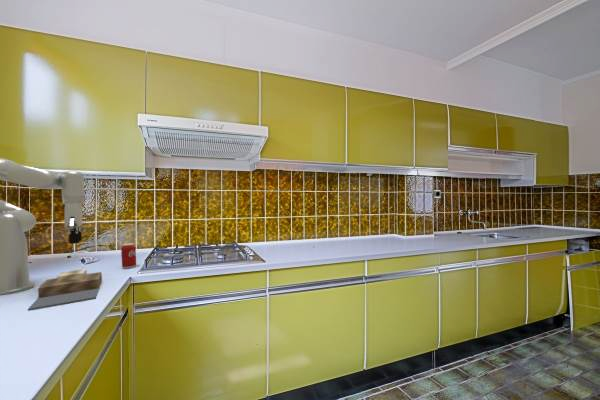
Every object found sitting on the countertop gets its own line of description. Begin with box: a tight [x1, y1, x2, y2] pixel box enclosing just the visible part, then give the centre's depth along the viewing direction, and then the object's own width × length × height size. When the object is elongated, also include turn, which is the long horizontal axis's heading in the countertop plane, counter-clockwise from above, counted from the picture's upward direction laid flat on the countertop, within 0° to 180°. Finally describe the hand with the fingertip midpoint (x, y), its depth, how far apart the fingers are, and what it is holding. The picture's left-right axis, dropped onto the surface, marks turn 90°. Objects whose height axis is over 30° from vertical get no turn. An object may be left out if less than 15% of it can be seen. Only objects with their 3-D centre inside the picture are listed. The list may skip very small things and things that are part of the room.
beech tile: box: [57, 268, 88, 283], centre depth 113 cm, size 8×7×2 cm
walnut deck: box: [37, 271, 103, 298], centre depth 112 cm, size 18×12×4 cm, turn 121°
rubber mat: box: [27, 288, 100, 312], centre depth 102 cm, size 18×11×1 cm, turn 121°
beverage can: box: [120, 242, 137, 269], centre depth 144 cm, size 6×6×12 cm
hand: (75, 241), depth 121 cm, fingers open, 5 cm apart
